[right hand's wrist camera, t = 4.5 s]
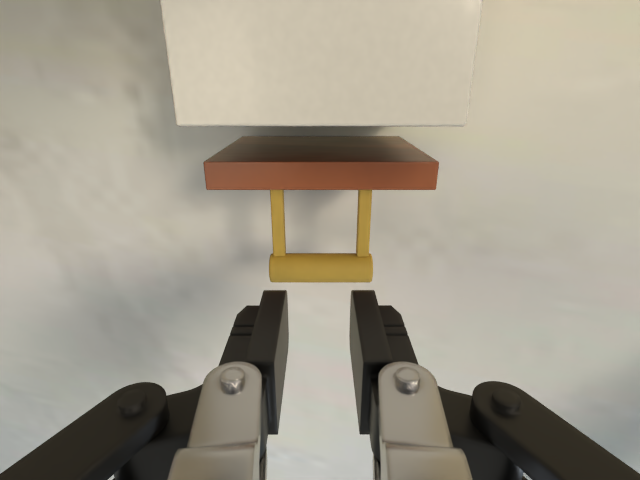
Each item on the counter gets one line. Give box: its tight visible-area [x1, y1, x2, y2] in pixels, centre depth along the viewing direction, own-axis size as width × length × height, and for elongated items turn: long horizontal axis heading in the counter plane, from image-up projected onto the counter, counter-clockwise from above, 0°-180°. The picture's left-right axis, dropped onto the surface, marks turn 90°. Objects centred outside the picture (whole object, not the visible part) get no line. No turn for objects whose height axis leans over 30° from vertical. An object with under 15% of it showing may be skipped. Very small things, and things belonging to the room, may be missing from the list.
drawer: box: [204, 136, 439, 282], centre depth 18 cm, size 23×10×9 cm, turn 0°
